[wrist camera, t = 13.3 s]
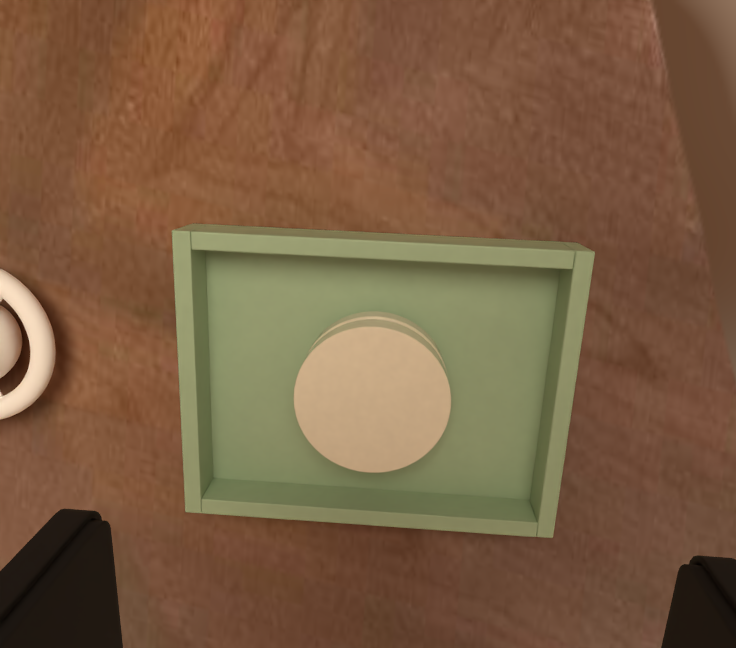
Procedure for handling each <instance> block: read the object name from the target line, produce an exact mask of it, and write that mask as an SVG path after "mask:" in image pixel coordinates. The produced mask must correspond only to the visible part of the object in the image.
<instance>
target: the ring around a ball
mask: <svg viewBox="0 0 736 648" xmlns="http://www.w3.org/2000/svg"><path fill="white" fill-rule="evenodd" d="M2 299H4V300H5V301H6V302H7V303H8V304H10V306H11V307H12V308H13V309H14V310H15V312H16V313H17V314H18V316H19V318H20V319H21V321H22V323H23V325H24V327H25V329H26V332H27V335H28V339H29V343H30V363H29V367H28V370H27V373H26V375H25V377H24V379H23V380H22V382H21V383H20V384H19V385H18V386H17V387H16V388H15V389H14V390H13V391H11V392H10V393H8V394H7V395H4V396H3V395H2V393H1V391H0V419H4V418H8V417H11V416H13V415H15V414H17V413H19V412H22V411H23V410H24V409H26V408H27V407H29V406H30V405H32V404H33V403H34V402H35V401H36V400H37V399H38V398H39V397H40V396H41V394H42V393H43V391H44V390H45V388H46V387H47V385H48V383H49V380H50V378H51V376H52V373H53V369H54V365H55V354H56V348H55V339H54V334H53V330H52V327H51V324H50V321H49V319H48V317H47V314H46V312H45V311H44V309H43V307H42V306H41V304H40V303H39V301H38V300H37V299H36V297H35V296H34V295H33V294H32V292H31V291H30V290H29V289H28V288H27V287H26V286H25V285H24V284H22V283H21V282H20V281H19V280H18V279H16V278H15V277H14V276H12V275H11V274H9V273H8V272H6V271H4V270H3V269H1V268H0V302H1V300H2ZM21 348H22V334H21V330H20V327H19V325H18V323H17V321H16V319H15V318H14V317H13V315H12V314H11V313H10V312H9V311H8V310H7V309H6V308H4V307H3V306H1V305H0V378H1V377H3V376H4V375H6V374H7V373H8V372H9V371H10V370H11V369H12V367H13V366H14V365H15V363H16V362H17V360H18V358H19V355H20V353H21Z"/></svg>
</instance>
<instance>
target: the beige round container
mask: <svg viewBox="0 0 736 648" xmlns="http://www.w3.org/2000/svg"><path fill="white" fill-rule="evenodd" d="M293 398H294V409H295V414H296V418H297V421H298V423H299V426H300V428H301V430H302V432H303V434H304V435H305V437H306V438H307V440H308V441H309V442H310V443H311V445H312V446H313V447H314V448H315V449H316V450H317V451H318V452H319V453H321V454H322V455H323V456H324V457H326V458H327V459H329V460H330V461H332V462H334V463H336V464H338V465H340V466H342V467H345V468H348V469H351V470H355V471H359V472H367V473H380V472H389V471H393V470H397V469H400V468H403V467H406V466H408V465H410V464H412V463H414V462H416V461H417V460H419V459H420V458H422V457H423V456H425V455H426V454H427V453H428V452H429V451H430V450H431V449H432V448H433V447H434V446H435V445H436V443H437V442H438V441H439V439H440V438H441V436H442V435H443V432H444V430H445V428H446V426H447V423H448V420H449V417H450V410H451V392H450V385H449V380H448V375H447V370H446V366H445V362H444V359H443V356H442V354H441V352H440V350H439V348H438V346H437V345H436V343H435V342H434V340H433V339H432V338H431V337H430V335H429V334H427V333H426V332H425V331H424V330H423V329H422V328H421V327H419V326H418V325H417V324H415V323H414V322H412V321H410V320H408V319H406V318H404V317H401V316H399V315H395V314H391V313H387V312H379V311H368V312H360V313H356V314H352V315H349V316H346V317H344V318H341V319H339V320H338V321H336V322H334V323H332V324H331V325H330V326H328V327H327V328H326V329H325V330H324V331H323V332H322V333H321V334H320V335H319V336H318V337H317V338H316V340H315V341H314V342H313V344H312V346H311V347H310V349H309V351H308V353H307V355H306V357H305V360H304V361H303V364H302V366H301V368H300V370H299V373H298V375H297V378H296V382H295V386H294V396H293Z"/></svg>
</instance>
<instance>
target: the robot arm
mask: <svg viewBox="0 0 736 648" xmlns="http://www.w3.org/2000/svg"><path fill="white" fill-rule="evenodd" d="M0 648H123V644H122V635H121V625H120V615H119V605H118V595H117V586H116V576H115V566H114V556H113V546H112V536H111V528H110V524H109V523H108V522H107V521H102V519H101V516H100V514H99V513H98V512H96V511H87V510H74V509H62V510H60V511H58V512H57V513H56V514H55V515H54V516H53V517H52V518H51V519H50V520H49V521H48V522H47V523H46V524H45V525H44V526H43V527H42V528H41V529H40V531H39V532H38V533H37V534H36V535H35V536H34V537H33V538H32V539H31V540H30V541H29V542H28V543H27V544H26V545H25V546H24V547H23V548H22V549H21V550H20V551H19V552H18V553H17V554H16V556H15V557H14V558H13V559H12V560H11V561H10V562H9V563H8V564H7V565H6V566H5V567H4V568H3V569H2V570H1V571H0ZM661 648H736V560H735V559H733V558H723V557H709V556H694V557H693V558H692V559H691V560H690V563H689V565H688V564H684V565H682V566H681V567H680V568H679V571H678V575H677V580H676V584H675V589H674V593H673V598H672V602H671V607H670V611H669V616H668V620H667V625H666V629H665V634H664V638H663V643H662V647H661Z"/></svg>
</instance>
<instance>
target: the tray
mask: <svg viewBox="0 0 736 648" xmlns="http://www.w3.org/2000/svg"><path fill="white" fill-rule="evenodd" d="M172 246H173V266H174V287H175V308H176V328H177V349H178V369H179V390H180V411H181V431H182V452H183V472H184V493H185V512H191V513H205V514H219V515H233V516H247V517H261V518H275V519H289V520H303V521H317V522H331V523H345V524H359V525H373V526H387V527H401V528H415V529H429V530H443V531H457V532H471V533H485V534H499V535H513V536H527V537H536V536H537V537H545V538H553V533H554V527H555V520H556V513H557V506H558V499H559V493H560V486H561V479H562V472H563V466H564V459H565V452H566V445H567V439H568V432H569V425H570V418H571V411H572V405H573V398H574V391H575V384H576V378H577V371H578V364H579V357H580V351H581V344H582V337H583V330H584V323H585V317H586V310H587V303H588V296H589V290H590V283H591V276H592V269H593V263H594V256H595V252H594V251H592V250H590V249H588V248H586V247H584V246H582V245H581V244H579V243H575V242H555V241H535V240H515V239H495V238H475V237H455V236H435V235H415V234H395V233H375V232H354V231H334V230H314V229H294V228H274V227H254V226H234V225H214V224H194V223H193V224H190V225H187V226H184V227H181V228H178V229H175V230H172ZM368 311H379V312H387V313H391V314H395V315H399V316H401V317H404V318H406V319H408V320H410V321H412V322H414V323H415V324H417V325H418V326H419V327H421V328H422V329H423V330H424V331H425V332H426V333H427V334H429V335H430V337H431V338H432V339H433V340H434V342H435V343H436V345H437V346H438V348H439V350H440V352H441V354H442V356H443V359H444V362H445V366H446V370H447V375H448V380H449V385H450V392H451V410H450V417H449V420H448V423H447V426H446V428H445V430H444V432H443V435H442V436H441V438H440V439H439V441H438V442H437V443H436V445H435V446H434V447H433V448H432V449H431V450H430V451H429V452H428V453H427V454H426V455H425V456H423V457H422V458H420V459H419V460H417V461H416V462H414V463H412V464H410V465H408V466H406V467H403V468H400V469H397V470H393V471H389V472H380V473H367V472H359V471H355V470H351V469H348V468H345V467H342V466H340V465H338V464H336V463H334V462H332V461H330V460H329V459H327V458H326V457H324V456H323V455H322V454H321V453H319V452H318V451H317V450H316V449H315V448H314V447H313V446H312V445H311V443H310V442H309V441H308V440H307V438H306V437H305V435H304V434H303V432H302V430H301V428H300V426H299V423H298V421H297V418H296V414H295V409H294V398H293V396H294V386H295V382H296V378H297V375H298V373H299V370H300V368H301V366H302V364H303V361H304V360H305V357H306V355H307V353H308V351H309V349H310V347H311V346H312V344H313V342H314V341H315V340H316V338H317V337H318V336H319V335H320V334H321V333H322V332H323V331H324V330H325V329H326V328H327V327H328V326H330V325H331V324H332V323H334V322H336V321H338V320H339V319H341V318H344V317H346V316H349V315H352V314H356V313H360V312H368Z"/></svg>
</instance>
